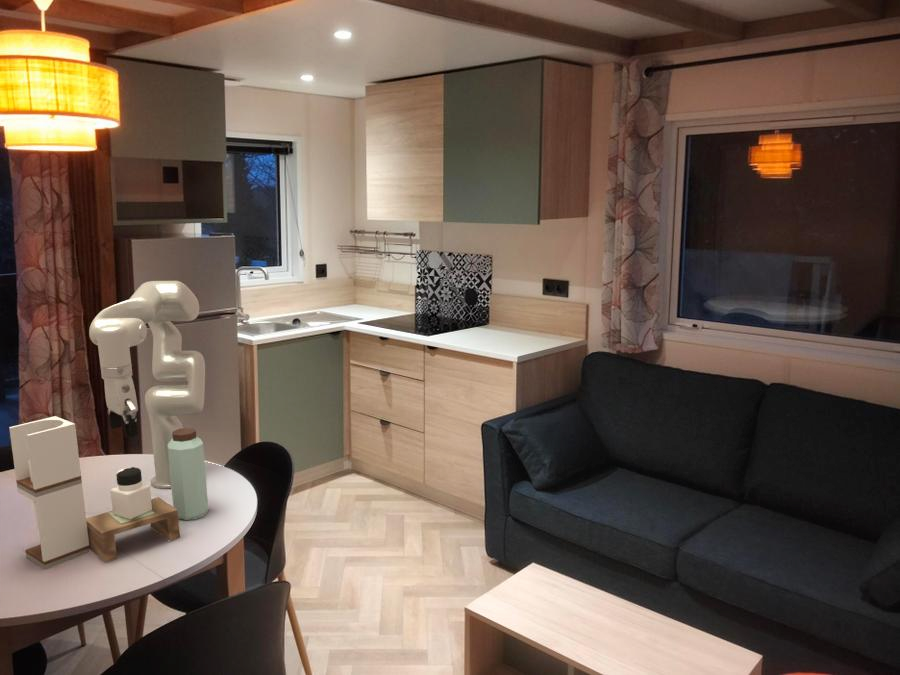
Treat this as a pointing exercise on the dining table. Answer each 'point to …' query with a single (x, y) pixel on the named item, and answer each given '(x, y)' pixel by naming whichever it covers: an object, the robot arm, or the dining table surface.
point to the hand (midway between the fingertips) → (123, 431)
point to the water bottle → (187, 474)
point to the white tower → (52, 488)
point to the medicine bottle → (130, 494)
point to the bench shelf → (130, 527)
